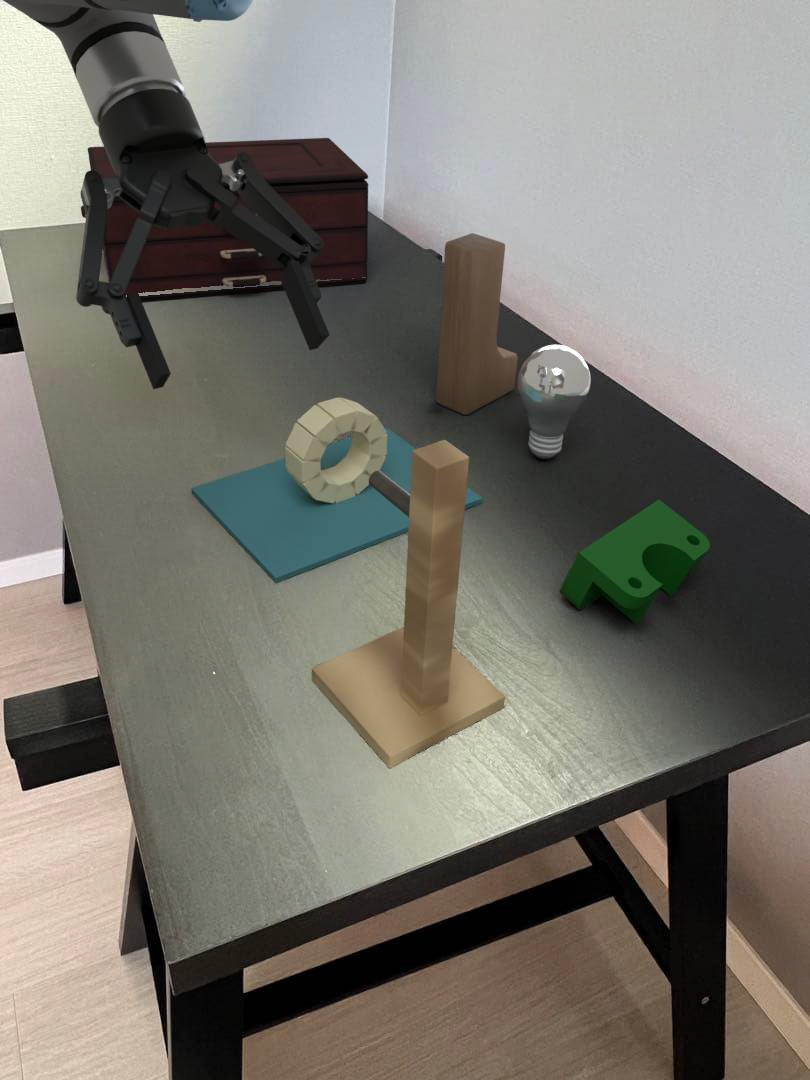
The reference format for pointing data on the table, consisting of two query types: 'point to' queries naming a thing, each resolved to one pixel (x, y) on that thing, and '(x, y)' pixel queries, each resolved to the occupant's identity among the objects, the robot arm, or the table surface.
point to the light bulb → (552, 395)
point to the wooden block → (472, 326)
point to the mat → (308, 512)
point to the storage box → (295, 174)
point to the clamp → (636, 561)
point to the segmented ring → (323, 429)
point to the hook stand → (417, 627)
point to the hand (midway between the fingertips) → (244, 361)
